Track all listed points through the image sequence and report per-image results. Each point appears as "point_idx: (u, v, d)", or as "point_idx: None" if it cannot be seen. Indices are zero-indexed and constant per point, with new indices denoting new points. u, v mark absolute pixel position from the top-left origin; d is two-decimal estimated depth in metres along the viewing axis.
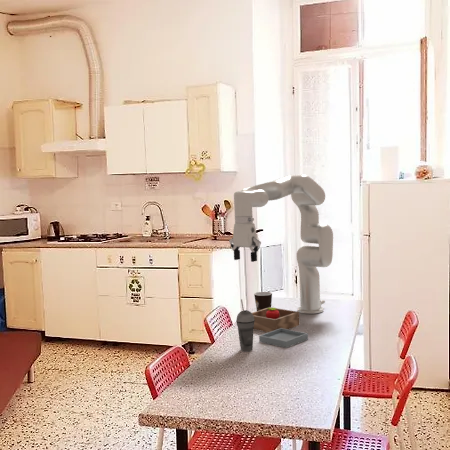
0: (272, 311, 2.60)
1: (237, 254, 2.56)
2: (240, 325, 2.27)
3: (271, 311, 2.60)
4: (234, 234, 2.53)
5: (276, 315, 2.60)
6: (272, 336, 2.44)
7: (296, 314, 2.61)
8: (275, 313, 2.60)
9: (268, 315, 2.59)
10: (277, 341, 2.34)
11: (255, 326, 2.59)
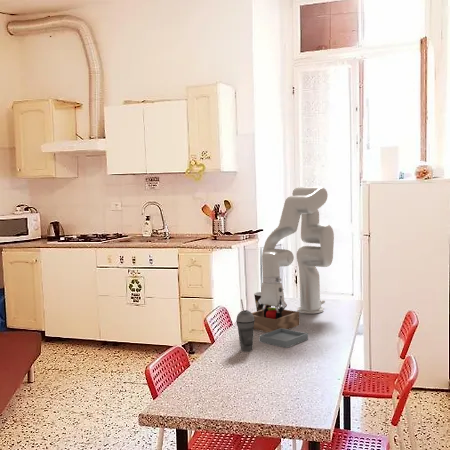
0: (272, 311, 2.60)
1: None
2: (240, 325, 2.27)
3: (271, 311, 2.60)
4: (262, 293, 2.62)
5: None
6: (272, 336, 2.44)
7: (296, 314, 2.61)
8: (275, 313, 2.60)
9: (268, 315, 2.59)
10: (277, 341, 2.34)
11: (255, 326, 2.59)
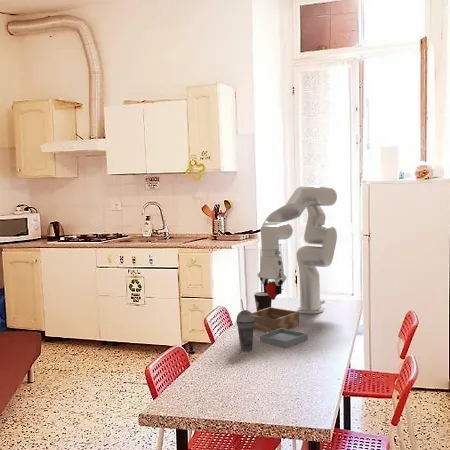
0: (272, 284, 2.60)
1: None
2: (240, 325, 2.27)
3: (271, 284, 2.60)
4: (261, 266, 2.62)
5: None
6: (272, 336, 2.44)
7: (296, 314, 2.61)
8: (275, 286, 2.59)
9: (268, 288, 2.59)
10: (277, 341, 2.34)
11: (255, 326, 2.59)
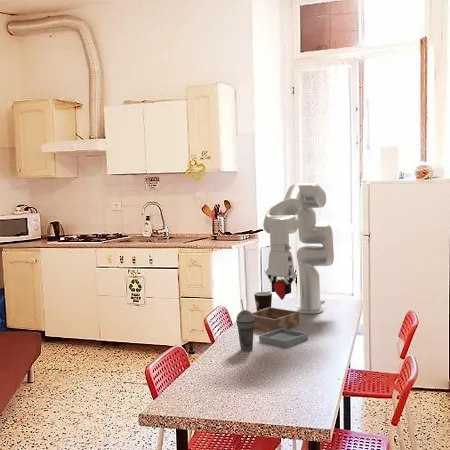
0: (280, 282, 2.38)
1: None
2: (240, 325, 2.27)
3: (279, 282, 2.38)
4: (269, 263, 2.40)
5: None
6: (272, 336, 2.44)
7: (296, 314, 2.61)
8: (284, 284, 2.37)
9: (276, 287, 2.37)
10: (277, 341, 2.34)
11: (255, 326, 2.59)
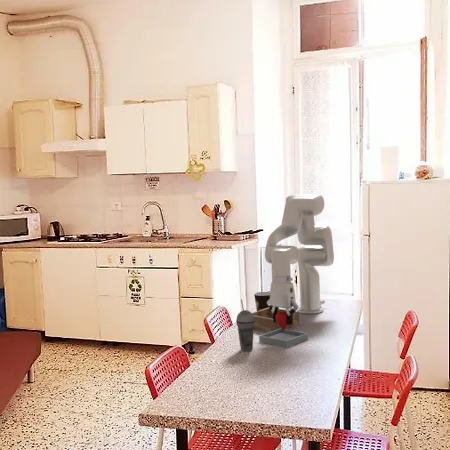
0: (282, 313, 2.38)
1: None
2: (240, 325, 2.27)
3: (281, 313, 2.38)
4: (271, 293, 2.40)
5: (286, 318, 2.37)
6: (272, 336, 2.44)
7: (296, 314, 2.61)
8: (285, 315, 2.37)
9: (278, 318, 2.37)
10: (277, 341, 2.34)
11: (255, 326, 2.59)
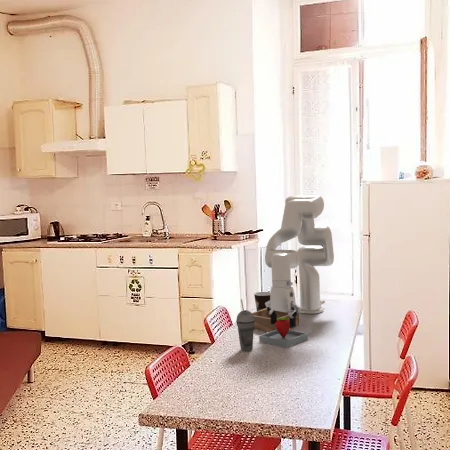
0: (282, 321, 2.39)
1: (274, 318, 2.43)
2: (240, 325, 2.27)
3: (281, 321, 2.39)
4: (271, 298, 2.40)
5: (286, 326, 2.38)
6: (272, 336, 2.44)
7: None
8: (285, 323, 2.38)
9: (278, 326, 2.38)
10: (277, 341, 2.34)
11: (255, 326, 2.59)
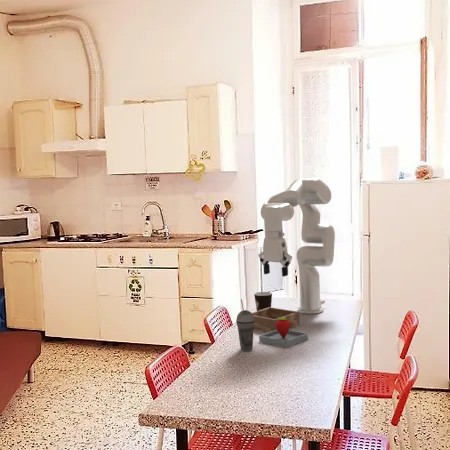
0: (282, 321, 2.39)
1: (267, 268, 2.55)
2: (240, 325, 2.27)
3: (281, 321, 2.39)
4: (264, 249, 2.51)
5: (286, 325, 2.38)
6: (272, 336, 2.44)
7: (296, 314, 2.61)
8: (285, 323, 2.38)
9: (278, 325, 2.38)
10: (277, 341, 2.34)
11: (255, 326, 2.59)
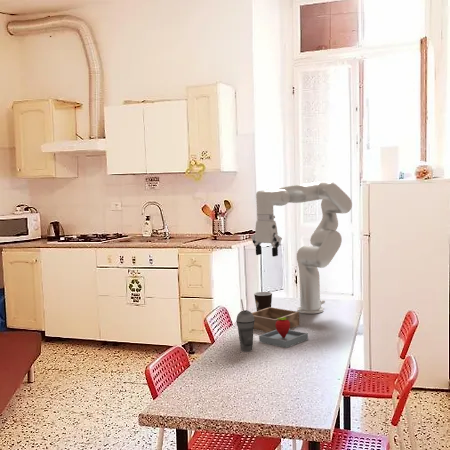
0: (282, 321, 2.39)
1: (259, 249, 2.73)
2: (240, 325, 2.27)
3: (281, 321, 2.39)
4: (256, 231, 2.70)
5: (286, 325, 2.38)
6: (272, 336, 2.44)
7: (296, 314, 2.61)
8: (285, 323, 2.38)
9: (278, 325, 2.38)
10: (277, 341, 2.34)
11: (255, 326, 2.59)
